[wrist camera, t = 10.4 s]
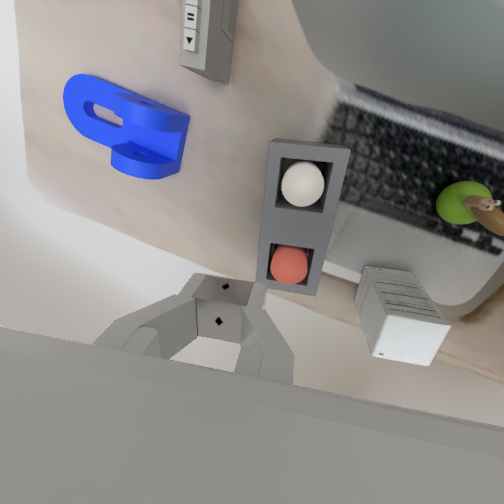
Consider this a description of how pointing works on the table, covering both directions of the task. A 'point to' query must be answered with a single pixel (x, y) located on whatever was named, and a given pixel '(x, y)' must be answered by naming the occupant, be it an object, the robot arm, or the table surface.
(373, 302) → the supplement box
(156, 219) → the table surface
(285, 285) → the block
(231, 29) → the cassette player
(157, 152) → the bracket
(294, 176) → the plug
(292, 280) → the red plug
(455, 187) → the snail figurine
